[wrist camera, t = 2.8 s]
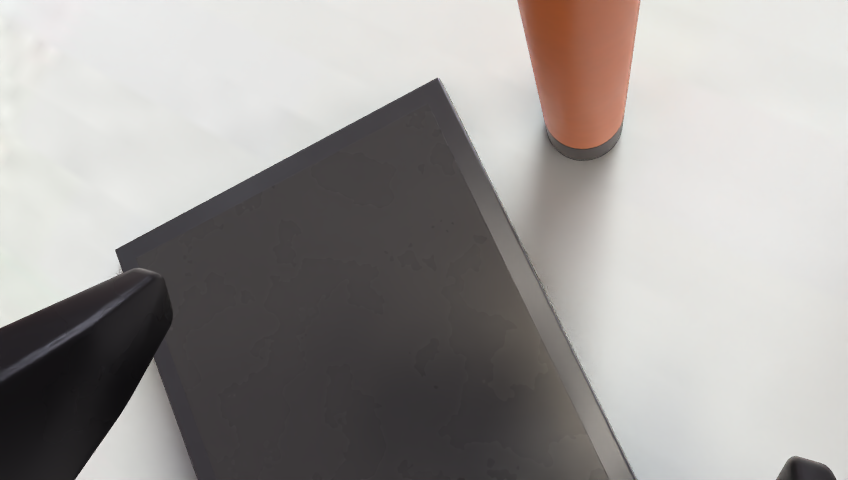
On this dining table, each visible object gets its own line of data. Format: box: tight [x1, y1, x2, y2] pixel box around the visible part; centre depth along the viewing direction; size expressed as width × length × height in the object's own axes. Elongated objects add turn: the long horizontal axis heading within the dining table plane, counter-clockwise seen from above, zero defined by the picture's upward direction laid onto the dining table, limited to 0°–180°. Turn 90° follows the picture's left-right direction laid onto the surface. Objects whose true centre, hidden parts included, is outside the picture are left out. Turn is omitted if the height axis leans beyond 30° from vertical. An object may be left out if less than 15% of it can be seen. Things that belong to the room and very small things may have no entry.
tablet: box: [115, 78, 637, 480], centre depth 23 cm, size 20×13×1 cm, turn 25°
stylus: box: [517, 0, 640, 160], centre depth 18 cm, size 2×2×13 cm
